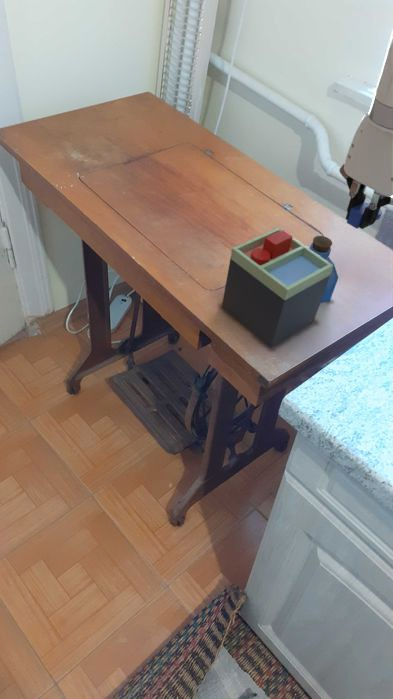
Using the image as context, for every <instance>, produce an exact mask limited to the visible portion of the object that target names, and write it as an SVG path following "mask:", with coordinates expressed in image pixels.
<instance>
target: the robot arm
mask: <svg viewBox="0 0 393 699" xmlns="http://www.w3.org/2000/svg"><path fill="white" fill-rule="evenodd" d="M381 69H382V70H381V72H380V76H379V78H378V82H377V86H376V88H375V92H374V95H373V99H372V102H371V105H370V109H369V111H368V112H366V113H364V115H363V117H362V119H361V120H360V123H359V125H358V126H357V129H356V131H355V133H354V135H353V138H352V140H351V143H350V146H349V148H348V151H347V153H346V157H345V160H344V163H343V164H342V166H340V168H339V173H340V175H341V176H342V178H343V179H344V180H345V181H346V185H347V187H348V190H349V192H348V196H349V198H350V199H349V202H348V206H347V209H346V212H347V213H346V216H345V220H346V221H347V220H348V217H349V214H350V211H351V208H353V207H355V206H357V205H359V204H361V203H363V202H365V201H366V199H367V194H365V192H366V190H367V188H369V189H371V190H372V191H373V193H372V196H371V200H370V202H369V203H370V205H369V206H367V207H366V208H365V210H364V214H363V217H362V220H361V223H360V226H359V229H361V230H363V229H365V228H367V227H369V226H372V225H374V224H375V223H376V221H377V220H376V218H377V216H378V213H379V210H381V208H382V207H386V206H387V205H389V206H393V35H392V37H391V39H390V43H389V47H388V50H387V53H386V56H385V59H384V62H383V65H382V68H381Z"/></svg>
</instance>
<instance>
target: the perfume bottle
mask: <svg viewBox="0 0 393 699" xmlns="http://www.w3.org/2000/svg"><path fill="white" fill-rule="evenodd" d="M332 246H333V241H332V240H331V238H329V237H328V236H324V235H317V236H314V237H313V238H312V242H311V244H310V245H309V247H308V248H309V249H311V250H312V251H313V252H315V253H316V254H318V255H319V256H321V257H322V258H324V259H325V260H327V261H328V262H329V263H330V264H332V265H333V268H332V271H331V274H330V277H329V280H328V283H327V285H326V288H325V291H324V294H323V297H322V299H321V302H320V304H324V303H329V302H331V299H332V298H333V297H332V296H333V293H334V292H335V289H336V286H337V282H338V280H339V274H338V273H337V269H336V266H335V262H333V260H331V258H330V254H331V252H332V248H331V247H332Z"/></svg>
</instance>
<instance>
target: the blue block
mask: <svg viewBox="0 0 393 699" xmlns="http://www.w3.org/2000/svg"><path fill="white" fill-rule="evenodd" d="M369 205H370V202H368V201H366V200H365V202H363V203H361V204H359V205H357V206H355V207H353V208H351V211H350V214H349V217H348V220H346V224H348V225H349V226H351V227H352V228H355V229H360V227H359V226H360V223H361V220H362V217H363V214H364V210H365V208H366V207H367V206H369ZM382 214H383V213H382V210H381V209H380V210H379V213H378V216H377V218H376V221H379V220H380V219H381V216H382Z"/></svg>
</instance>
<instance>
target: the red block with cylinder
mask: <svg viewBox="0 0 393 699" xmlns="http://www.w3.org/2000/svg"><path fill="white" fill-rule="evenodd" d="M292 238H294V236H293V235H291V234H289V233H288V232H287V231H285V230H284V229H282V230H281V231H279V232H277V233H275V234H273V235H270V236H268V237H266V238H265V241H264V245H263V249H261V248H257V249H254V250H253V251H252V252H251V257H250V258H251V259H252V260H253V261H254V262H256V263H257V264H258V265H263V264H266V263H268V262H269V261H270V259H274V258H276V257H278V256H280V255H282V254H284V253H286V252H288V251H289V249H290V245H291V241H292Z"/></svg>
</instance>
